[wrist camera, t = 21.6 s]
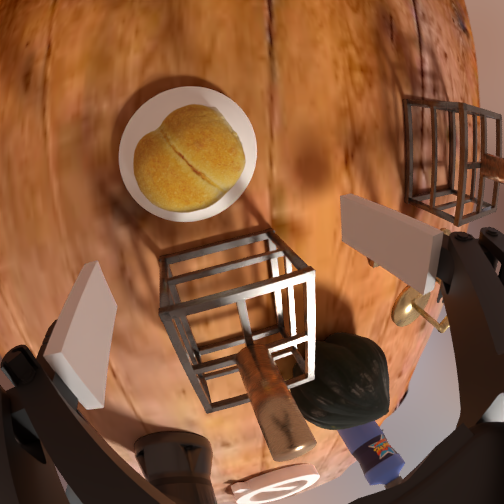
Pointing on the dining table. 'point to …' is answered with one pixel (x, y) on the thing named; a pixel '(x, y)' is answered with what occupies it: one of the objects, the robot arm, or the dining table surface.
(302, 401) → the squash
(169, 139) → the bread roll
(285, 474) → the ring with crossbar
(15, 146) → the dining table surface
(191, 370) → the metal bar cube frame
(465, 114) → the wire frame cage
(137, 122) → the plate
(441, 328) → the balance
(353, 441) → the water bottle
